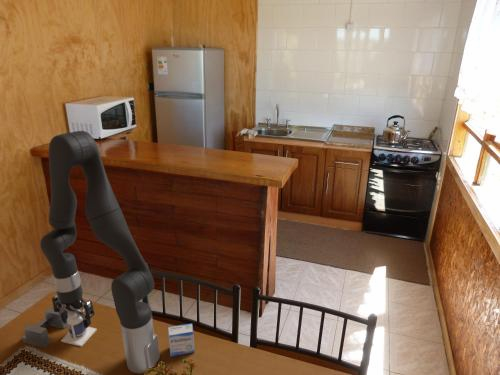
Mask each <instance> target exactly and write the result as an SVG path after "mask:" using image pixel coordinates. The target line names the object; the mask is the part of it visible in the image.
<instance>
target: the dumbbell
mask: <svg viewBox="0 0 500 375" xmlns="http://www.w3.org/2000/svg"><path fill="white" fill-rule="evenodd" d="M43 313H44V317H43V318H42V319H41V320H40V321H39V322H38V323H36V324H35V325H34V324H28V325H27V326H26V327H24V328H23V332H24V334H23V336H21V340H22V343H26V344H29V345H34V346H36V347H40V348H43V349H44V348H46V347H47V346H48V345H49V344H50V343H51V341H50V338H49V332H48V329H47V327H48V326H50V327H54V328H58V329H63V330H64V329H65V328H68V325H67V323H63V321H62V318H61V315H60V314H59V312H55V311H54V307H50V306H49V307H48V308H47V309H45V310H44V312H43Z"/></svg>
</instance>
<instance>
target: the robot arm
mask: <svg viewBox="0 0 500 375" xmlns="http://www.w3.org/2000/svg"><path fill="white" fill-rule="evenodd" d="M49 141H50V142H49V145H48V165H49V166H48V167H49V178H50V191H51V193H50V204H49V212H48V223H49V225H50V226H51V227H52V228H53V229H52V230H50V231H49V232H48V233H46V234H44V235H43V236H42V238H41V240H40V242H39V243H40V244H39V245H40V250H41V251H42V253H43V255H44V257H45V258H46V259H47V261H48V263H49V264H50V266H51V270H52V275H53V282H54V288H55V292H56V294H55V295H54V296H53V297H52V298H51V301H52V306H53V307H52V308H54V311H55V312H59V314H60V315H61V318H62V321H63V323H67V318H68V312H69V311H73V312H75V313H76V314H77V315H78V316H81V317H82V319H83V324H84V328H88V327H90V326H91V324H92V322H91V318H93V317H94V316H95V308H94V306H93V302H92V300H91V299H89V300H87V301H86V300H84V299H83V294H84V291H83V285H82V282H81V281H82V280H81V276H80V272H79V270H78V265H77V262H76V257H75V256H74V254H73V253H70V252H64V251H65V250H66V249H68V248H69V247H70V246H72V245H73V244H74V243H75V241H76V240H77V235H78V233H77V226H76V222H75V219H76V213H77V208H78V199H77V196H76V193H75V192H74V190H73V188H72V186H71V184H70V175H71V172H72V169H73V168H75V167H79V166H80V167H81V169H82V171H83V172H82V173H83V175H84V177H85V181H86V193H85V194H86V195H85V205H84V213H85V217H86V219H87V220H86V221H87V222H88V224H89V227H90V229H91V230H92V232H93V235H94V237H95V238H97V239H98V240H99V241H100V242H101V243H102V244H104V245H106V246H108V247H109V248H111V250H114V251H115V252H116V253H118V254H119V256H121V258H122V259H123V262H124V263H125V265H126V267H127V269H128V270H127V271H125V272H123V273H122V274H120V275H118V276H117V277H115V278H114V279H113V280H112V282H111V286H110V287H111V295H112V297H113V302H114V307H115V311H116V314H117V316H118V318H119V323H120V329H121V336H122V340H123V347H124V348H123V349H124V355H125V359H126V364H127V369H128V370H129V371H130V372H131V373H135V374H144V373H146V372H145V371H146V370H147V369H148V368H150V367H154V368H155V366H156V364H158V362H159V360H160V357H161V356H160V347H159V339H158V337H159V336H158V334H156V333H155V329H154V319H153V313H152V311H153V310H152V308H151V306H150V305H149V304H148V303H146V302H143V301H141V300H143V299H144V298H146V297H147V296H148V295H150V294H151V293H152V292H153V291H154V289H155V281H154V278H153V275H152V272H151V271H150V268H149V267H148V265H147V262H146V261H145V259H144V257H143V255H142V254H141V252H140V250H139V248H138V245H137V244H136V242H135V240H134V238H133V235H132V234H131V230H130V229H129V227H128V226H129V225H128V224H127V221H126V218H125V216H124V214H123V212H122V209H121V207H120V205H119V202H118V200H117V198H116V196H115V194H114V191H113V188H112V186H111V183H110V181H109V178H108V175H107V172H106V170H105V169H106V168H105V166H104V163H103V158H102V156H101V154H100V150H99V148H98V144H97V143H96V140H95V139H94V137H93V136H92V135H91V134H90V133H89V132H87V131H85V130H77V131H70V132H66V133H61V134H57V135H55V136H53V137H52V138H51V140H49ZM79 309H80V311H79Z"/></svg>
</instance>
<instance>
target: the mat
mask: <svg viewBox="0 0 500 375" xmlns="http://www.w3.org/2000/svg"><path fill="white" fill-rule="evenodd" d="M97 330H98V329H97V328H95V327H91V326H89V327H88V328H87V334H86V335H85V336H84V337H83V338H81V339H77V340H74V339H72V338H71V337H70V333H69V332H68V333H67V334H66V335H65V336H64V337H63V338H62V339H61V340H60V341H61V343H65V344H69V345H74V346H76V347H82V346H84V344H85V343H86V342H87V341H88V340H89V339H90V338H91V337H92V336H93V335H94V334H95V333H96V332H97Z"/></svg>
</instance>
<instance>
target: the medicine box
mask: <svg viewBox="0 0 500 375" xmlns="http://www.w3.org/2000/svg"><path fill="white" fill-rule="evenodd" d="M193 325H194V324H193V323H186V324H180V325H173V326H167V331H168V332H167V334H168V335H167V336H168V344H169V345H168V346H169V355H170V357H176V356H181V355H188V354H193V353H195V351H196V350H195V338H194V328H193Z"/></svg>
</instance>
